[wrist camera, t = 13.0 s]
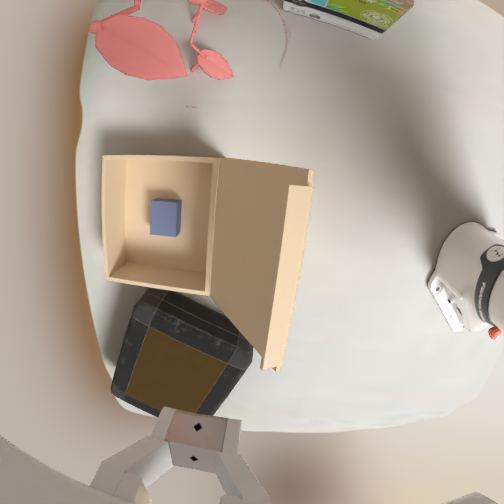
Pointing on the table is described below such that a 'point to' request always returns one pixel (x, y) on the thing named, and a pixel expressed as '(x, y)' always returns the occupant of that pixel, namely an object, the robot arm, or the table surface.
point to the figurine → (153, 46)
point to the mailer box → (138, 221)
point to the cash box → (179, 356)
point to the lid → (260, 250)
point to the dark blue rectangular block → (165, 217)
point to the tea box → (353, 13)
